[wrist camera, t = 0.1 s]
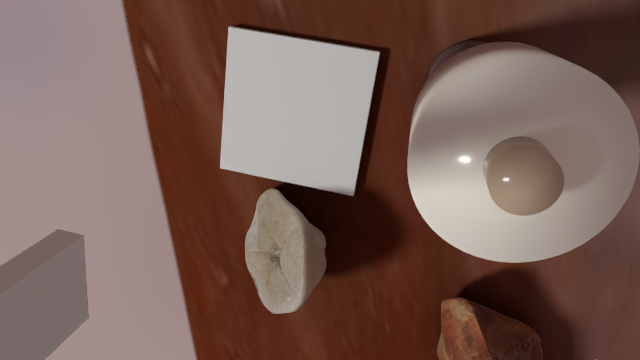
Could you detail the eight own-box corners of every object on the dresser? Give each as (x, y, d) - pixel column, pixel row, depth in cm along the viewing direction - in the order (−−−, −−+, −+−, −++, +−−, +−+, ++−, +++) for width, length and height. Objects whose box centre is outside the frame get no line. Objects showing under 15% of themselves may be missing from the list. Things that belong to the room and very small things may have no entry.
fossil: (424, 284, 39) (497, 398, 32) (513, 251, 40) (603, 352, 33) (421, 361, 47) (479, 465, 40) (495, 331, 49) (563, 426, 41)
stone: (232, 198, 45) (238, 192, 35) (301, 183, 47) (325, 174, 37) (255, 307, 45) (267, 331, 35) (323, 288, 46) (353, 306, 37)
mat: (232, 26, 38) (228, 26, 37) (380, 51, 36) (379, 52, 36) (223, 165, 43) (219, 168, 42) (354, 192, 41) (353, 196, 40)
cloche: (431, 28, 22) (434, 43, 15) (612, 57, 21) (705, 87, 14) (396, 185, 25) (386, 257, 18) (553, 217, 24) (605, 307, 17)
